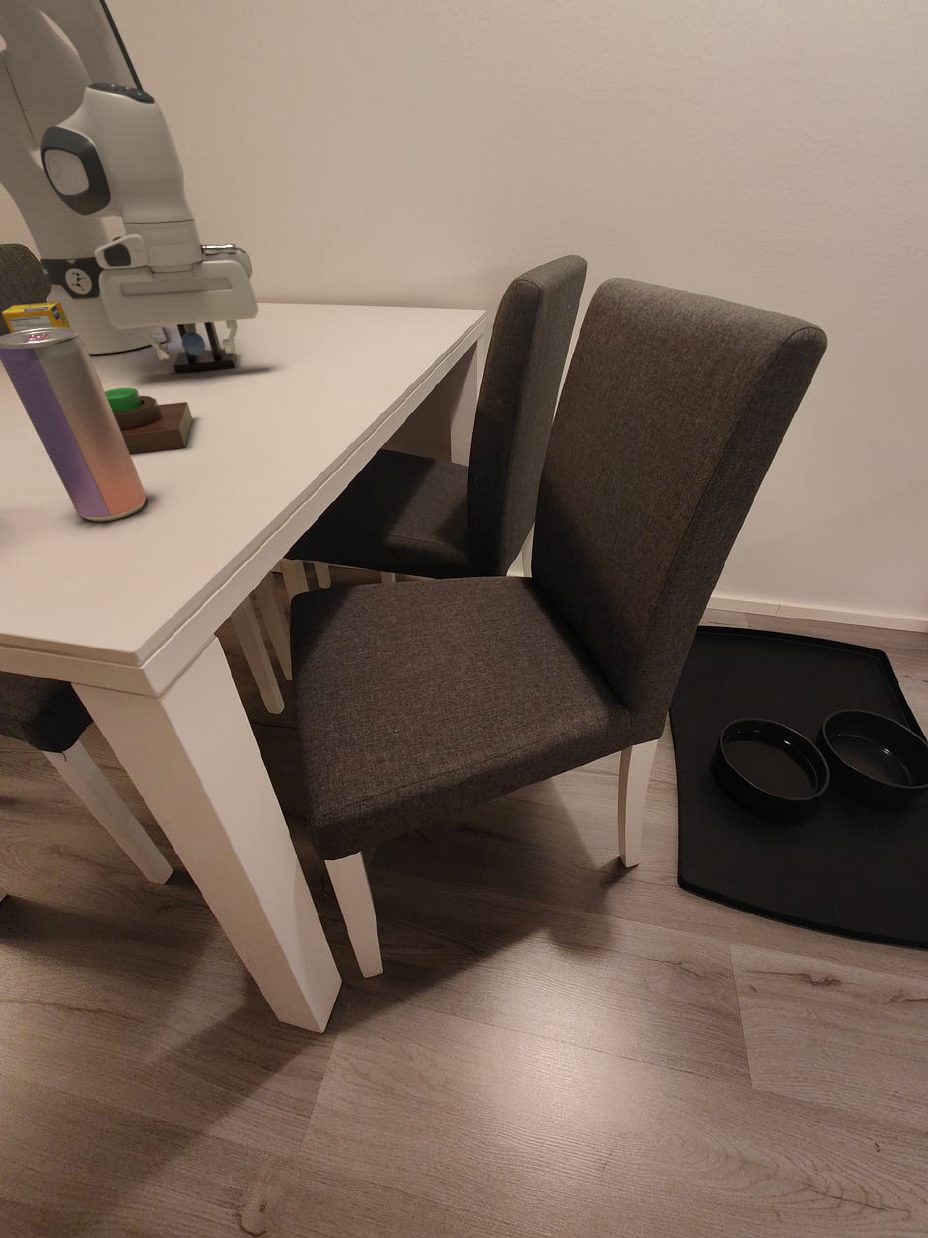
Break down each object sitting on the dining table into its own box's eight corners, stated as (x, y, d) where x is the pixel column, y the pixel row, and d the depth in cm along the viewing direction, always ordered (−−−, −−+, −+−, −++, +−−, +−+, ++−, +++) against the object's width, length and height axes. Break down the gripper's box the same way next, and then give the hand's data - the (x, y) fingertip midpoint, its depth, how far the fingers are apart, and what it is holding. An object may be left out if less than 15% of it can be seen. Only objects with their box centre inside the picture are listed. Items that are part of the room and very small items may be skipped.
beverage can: (76, 529, 50) (-17, 347, 41) (82, 501, 55) (-1, 331, 45) (148, 515, 52) (75, 338, 43) (149, 489, 57) (82, 323, 47)
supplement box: (93, 380, 87) (60, 300, 81) (86, 391, 83) (50, 308, 76) (50, 385, 86) (13, 304, 79) (40, 396, 82) (0, 311, 75)
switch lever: (208, 359, 85) (202, 341, 83) (186, 361, 85) (179, 343, 82) (200, 297, 90) (194, 278, 87) (179, 298, 89) (172, 280, 86)
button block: (90, 430, 70) (76, 397, 68) (192, 419, 73) (182, 386, 70) (70, 461, 63) (53, 425, 60) (185, 447, 65) (173, 412, 63)
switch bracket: (234, 367, 92) (213, 283, 84) (175, 373, 90) (148, 288, 82) (236, 355, 98) (216, 276, 90) (181, 360, 96) (155, 280, 88)
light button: (108, 404, 66) (102, 389, 65) (145, 401, 67) (139, 385, 66) (101, 415, 63) (95, 399, 62) (140, 411, 64) (134, 395, 63)
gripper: (246, 240, 81) (268, 344, 90) (90, 248, 77) (130, 356, 86) (246, 245, 77) (270, 354, 85) (80, 253, 72) (123, 367, 81)
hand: (198, 355), depth 85 cm, fingers open, 8 cm apart
